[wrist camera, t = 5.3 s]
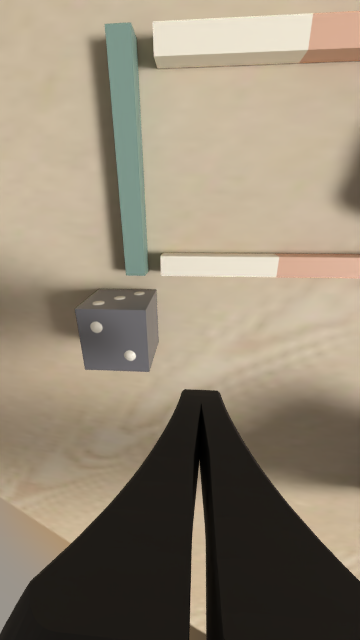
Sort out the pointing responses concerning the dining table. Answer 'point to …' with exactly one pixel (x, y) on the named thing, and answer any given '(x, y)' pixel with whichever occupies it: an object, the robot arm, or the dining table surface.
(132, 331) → the die
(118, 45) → the track
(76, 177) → the dining table surface
